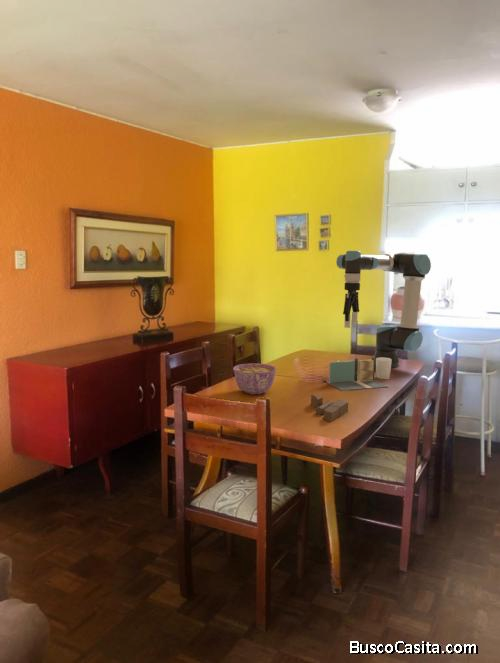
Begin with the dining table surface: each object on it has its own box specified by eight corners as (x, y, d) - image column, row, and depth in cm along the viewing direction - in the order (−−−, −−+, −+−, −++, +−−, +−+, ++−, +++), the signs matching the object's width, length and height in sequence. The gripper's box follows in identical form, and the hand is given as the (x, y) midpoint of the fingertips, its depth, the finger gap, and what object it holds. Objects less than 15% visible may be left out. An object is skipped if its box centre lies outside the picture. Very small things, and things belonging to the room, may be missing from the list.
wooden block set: (349, 398, 214) (332, 409, 199) (349, 411, 215) (331, 423, 200) (312, 392, 223) (292, 402, 208) (311, 405, 224) (292, 415, 209)
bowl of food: (268, 400, 229) (268, 374, 227) (226, 395, 236) (226, 370, 234) (281, 389, 248) (281, 365, 246) (242, 385, 255) (242, 362, 253)
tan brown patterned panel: (373, 380, 266) (374, 357, 264) (374, 380, 265) (375, 357, 263) (353, 381, 263) (354, 358, 261) (354, 382, 261) (355, 358, 260)
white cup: (378, 375, 277) (379, 356, 275) (392, 377, 272) (393, 358, 271) (372, 378, 271) (373, 359, 269) (387, 380, 266) (388, 361, 264)
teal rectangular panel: (352, 380, 263) (353, 360, 261) (354, 380, 261) (355, 361, 260) (329, 381, 259) (329, 362, 257) (330, 382, 258) (331, 362, 256)
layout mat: (367, 377, 271) (367, 376, 271) (388, 387, 252) (388, 386, 252) (323, 380, 264) (323, 379, 264) (341, 390, 245) (341, 389, 245)
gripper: (352, 280, 269) (350, 323, 272) (337, 283, 249) (336, 328, 252) (366, 281, 266) (364, 324, 269) (352, 283, 245) (351, 329, 249)
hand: (350, 326), depth 261 cm, fingers open, 11 cm apart
